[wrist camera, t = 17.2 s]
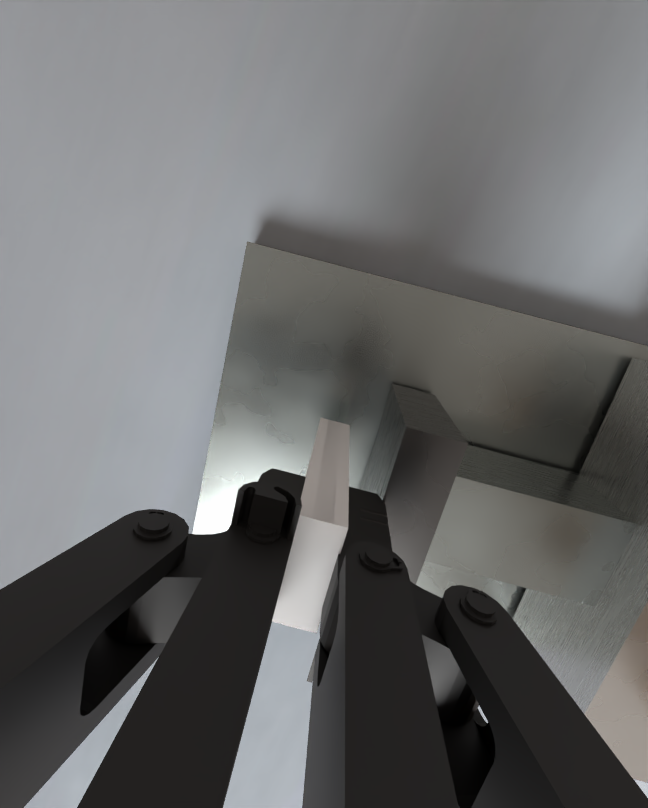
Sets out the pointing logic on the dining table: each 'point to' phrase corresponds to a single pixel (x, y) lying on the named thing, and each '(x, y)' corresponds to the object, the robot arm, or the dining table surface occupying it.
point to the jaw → (539, 543)
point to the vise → (395, 380)
